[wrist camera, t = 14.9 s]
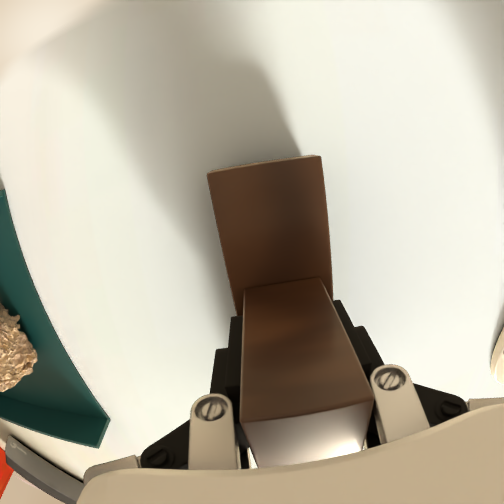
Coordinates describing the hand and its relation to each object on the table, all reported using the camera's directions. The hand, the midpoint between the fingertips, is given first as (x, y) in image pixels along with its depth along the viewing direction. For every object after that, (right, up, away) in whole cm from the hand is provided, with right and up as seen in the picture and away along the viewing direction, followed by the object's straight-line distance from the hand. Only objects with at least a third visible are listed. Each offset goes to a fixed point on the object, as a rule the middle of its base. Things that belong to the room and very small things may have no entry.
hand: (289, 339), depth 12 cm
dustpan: (-30, -4, +4) cm, 31 cm away
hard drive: (-33, -33, +15) cm, 49 cm away
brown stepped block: (0, +1, +3) cm, 3 cm away
